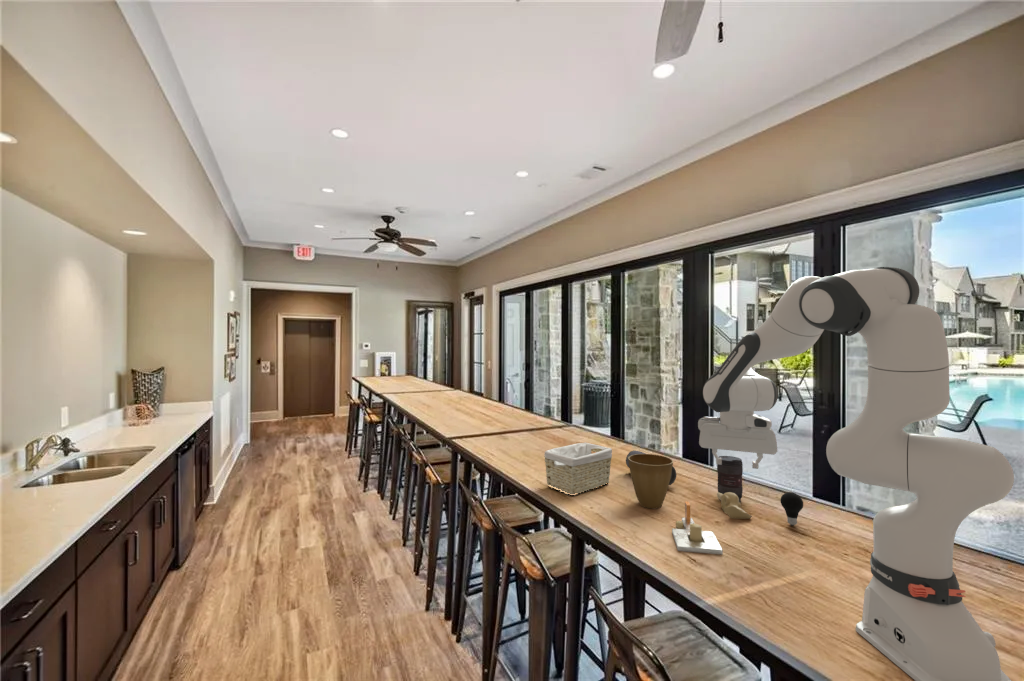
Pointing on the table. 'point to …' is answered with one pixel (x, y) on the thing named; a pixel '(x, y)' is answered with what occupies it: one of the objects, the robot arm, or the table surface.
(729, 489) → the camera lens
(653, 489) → the plant pot
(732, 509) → the beige carved piece
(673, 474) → the bluetooth speaker
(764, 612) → the table surface
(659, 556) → the table surface
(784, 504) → the light bulb
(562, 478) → the storage basket
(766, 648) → the table surface
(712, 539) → the flange plate
